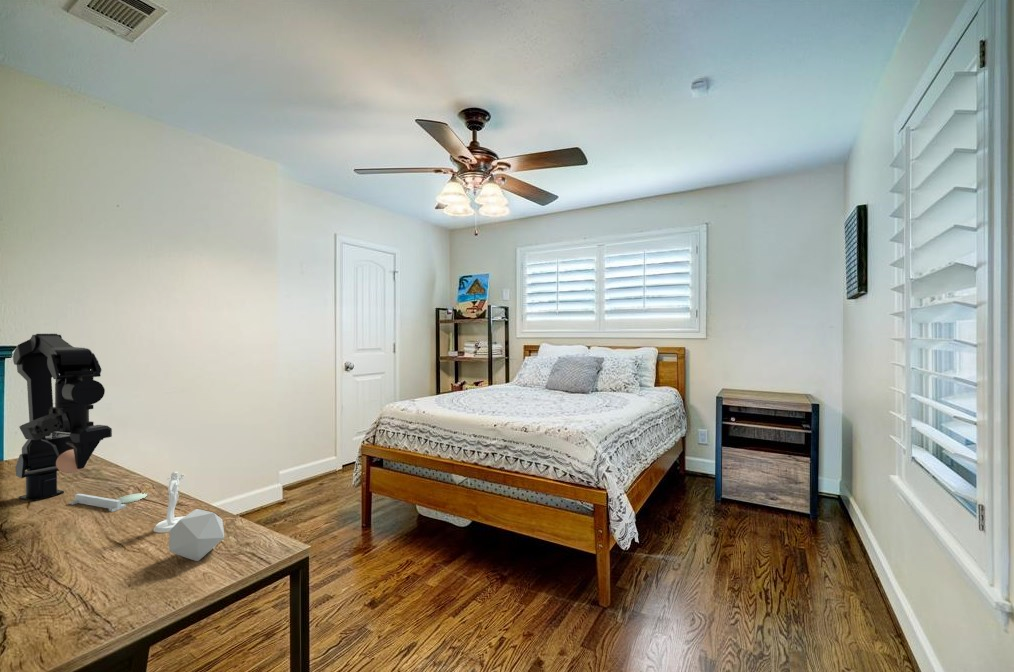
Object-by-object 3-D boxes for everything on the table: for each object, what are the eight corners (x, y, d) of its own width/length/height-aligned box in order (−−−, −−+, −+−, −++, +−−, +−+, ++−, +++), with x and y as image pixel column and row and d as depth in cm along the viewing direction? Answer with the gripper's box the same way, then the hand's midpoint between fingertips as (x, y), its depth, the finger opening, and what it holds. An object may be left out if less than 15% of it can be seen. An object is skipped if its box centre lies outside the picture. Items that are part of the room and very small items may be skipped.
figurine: (188, 529, 96) (188, 474, 96) (148, 535, 93) (147, 478, 93) (197, 516, 102) (196, 465, 102) (159, 521, 100) (159, 468, 100)
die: (235, 553, 86) (232, 503, 91) (204, 550, 79) (202, 496, 83) (191, 571, 85) (191, 520, 90) (155, 570, 78) (157, 514, 83)
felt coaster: (109, 501, 112) (109, 500, 112) (137, 493, 118) (137, 492, 118) (126, 504, 110) (126, 503, 110) (153, 495, 116) (153, 494, 116)
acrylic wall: (69, 504, 110) (69, 496, 110) (84, 499, 113) (84, 492, 113) (112, 511, 105) (112, 503, 105) (126, 507, 108) (126, 499, 108)
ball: (50, 475, 103) (50, 451, 103) (79, 468, 108) (79, 446, 108) (64, 477, 101) (64, 453, 101) (94, 470, 106) (93, 447, 106)
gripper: (2, 405, 100) (2, 473, 100) (51, 409, 94) (52, 482, 94) (64, 398, 110) (65, 460, 110) (113, 401, 104) (113, 467, 104)
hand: (72, 467), depth 104 cm, fingers closed on ball, 5 cm apart
